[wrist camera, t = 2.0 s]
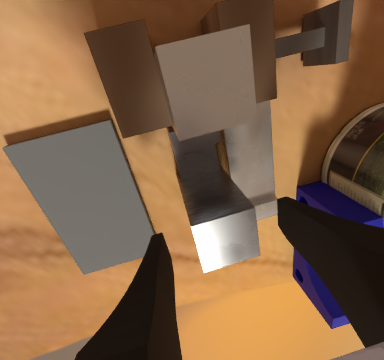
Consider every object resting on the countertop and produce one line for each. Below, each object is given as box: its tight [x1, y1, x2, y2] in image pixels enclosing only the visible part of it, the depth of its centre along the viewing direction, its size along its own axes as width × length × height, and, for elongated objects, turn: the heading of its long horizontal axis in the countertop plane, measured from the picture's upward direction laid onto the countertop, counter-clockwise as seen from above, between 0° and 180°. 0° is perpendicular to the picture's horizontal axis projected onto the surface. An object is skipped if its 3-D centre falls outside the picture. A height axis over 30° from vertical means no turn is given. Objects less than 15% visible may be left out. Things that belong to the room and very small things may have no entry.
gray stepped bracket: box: [167, 126, 260, 273], centre depth 14 cm, size 4×8×7 cm, turn 13°
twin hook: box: [154, 24, 278, 221], centre depth 14 cm, size 7×13×7 cm, turn 13°
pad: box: [2, 119, 155, 275], centre depth 17 cm, size 7×12×1 cm, turn 13°
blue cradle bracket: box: [293, 181, 384, 329], centre depth 20 cm, size 12×4×6 cm, turn 10°
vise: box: [84, 0, 354, 138], centre depth 13 cm, size 14×5×4 cm, turn 103°
